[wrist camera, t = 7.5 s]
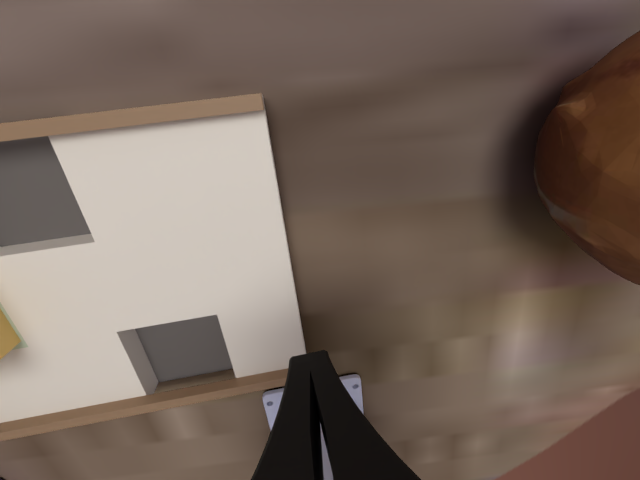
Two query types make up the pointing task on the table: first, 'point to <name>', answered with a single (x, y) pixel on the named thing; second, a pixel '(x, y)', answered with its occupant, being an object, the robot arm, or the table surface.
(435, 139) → the table surface
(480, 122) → the table surface
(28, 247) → the trap tray
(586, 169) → the brown wooden vase
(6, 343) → the block
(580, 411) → the table surface
